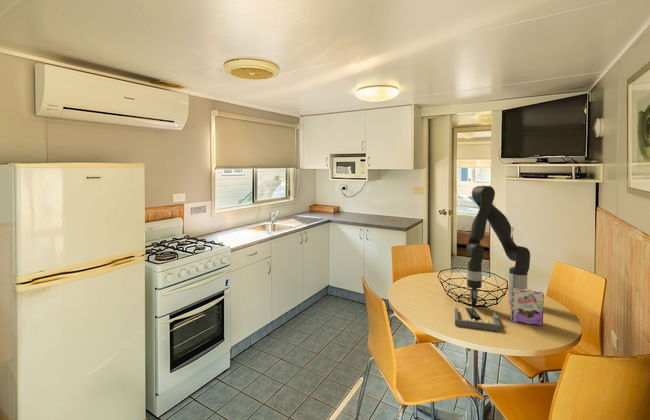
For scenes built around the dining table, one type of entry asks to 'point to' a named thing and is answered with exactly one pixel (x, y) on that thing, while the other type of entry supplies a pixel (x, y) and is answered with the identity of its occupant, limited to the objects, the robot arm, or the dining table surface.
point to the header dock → (478, 323)
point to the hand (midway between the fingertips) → (473, 309)
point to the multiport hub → (473, 313)
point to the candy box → (527, 306)
